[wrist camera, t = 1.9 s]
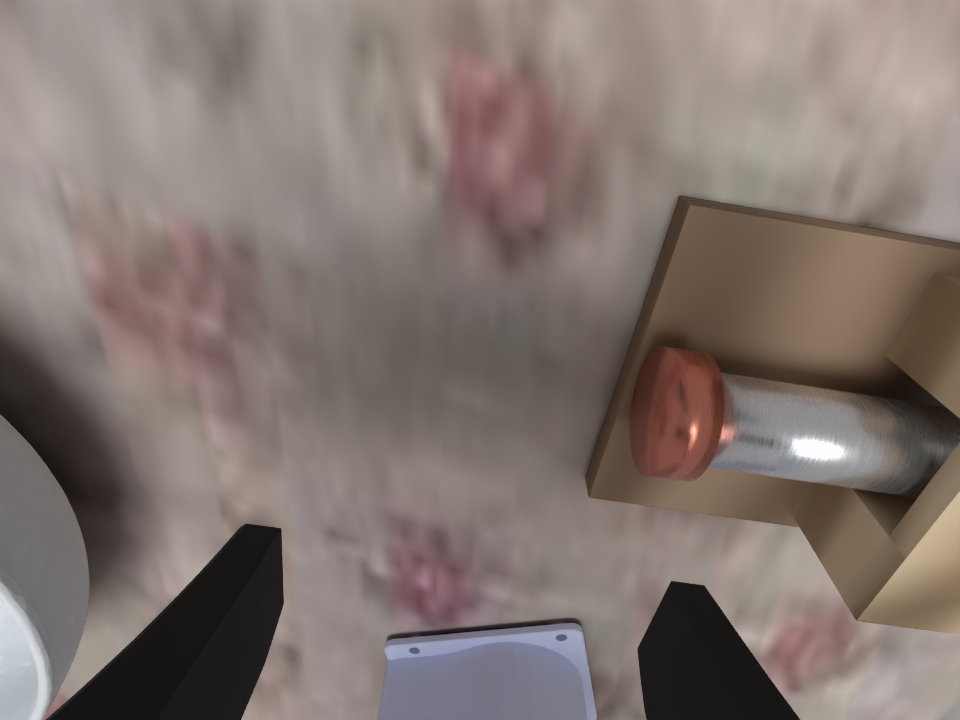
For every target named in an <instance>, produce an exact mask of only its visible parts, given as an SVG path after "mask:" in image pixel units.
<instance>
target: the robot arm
mask: <svg viewBox="0 0 960 720" xmlns="http://www.w3.org/2000/svg"><path fill="white" fill-rule="evenodd" d="M283 604H284V596H283V566H282V536H281V528H274V527H267V526H259V525H252V524H245V525H243V526H242V527H240V528H239V529H238V530H237V532H236V533H235V534H234V535H233V536H232V537H231V538H230V540H229V541H228V542H227V543H226V544H225V545H224V546H223V547H222V549H221V550H220V551H219V552H218V553H217V554H216V555H215V556H214V557H213V559H212V560H211V561H210V562H209V563H208V564H207V565H206V566H205V567H204V568H203V569H202V571H201V572H200V573H199V574H198V575H197V576H196V577H195V578H194V579H193V580H192V581H191V582H190V583H189V584H188V585H187V586H186V588H185V589H184V590H183V591H182V592H181V593H180V594H179V595H178V596H177V597H176V598H175V599H174V600H173V601H172V602H171V603H170V604H169V605H168V606H167V607H166V608H165V609H164V610H163V611H162V612H161V613H160V614H159V615H158V616H157V617H156V618H155V619H154V620H153V621H152V622H151V623H150V624H149V625H148V626H147V627H146V628H145V629H144V630H143V631H142V632H141V633H140V634H139V635H138V636H137V637H136V638H135V639H134V640H133V641H132V642H131V643H130V644H129V645H128V646H127V647H125V648H124V649H123V650H122V651H121V652H120V653H119V654H118V655H117V656H116V657H115V658H114V659H113V660H111V661H110V662H109V663H108V664H107V665H106V666H105V667H104V668H103V669H102V670H101V671H100V672H99V673H97V674H96V675H95V676H94V677H93V678H92V679H91V680H90V681H89V682H88V683H87V684H86V685H85V686H83V687H82V688H81V689H80V690H79V691H78V692H77V693H76V694H75V695H74V696H72V697H71V698H70V699H69V700H68V701H67V702H66V703H64V704H63V705H62V706H61V707H60V708H59V709H58V710H56V711H55V712H54V713H53V714H52V715H51V716H50V717H48V718H47V719H46V720H241V718H242V716H243V714H244V711H245V709H246V707H247V704H248V702H249V700H250V697H251V695H252V693H253V690H254V688H255V685H256V683H257V681H258V678H259V676H260V674H261V671H262V669H263V666H264V664H265V661H266V658H267V655H268V652H269V649H270V646H271V643H272V640H273V636H274V633H275V630H276V627H277V623H278V620H279V617H280V614H281V610H282V607H283ZM384 652H385V654H386V657H387V659H388V663H387V669H386V675H385V680H384V686H383V691H382V697H381V702H380V708H379V713H378V719H377V720H596V719H597V714H596V708H595V702H594V696H593V690H592V684H591V678H590V672H589V666H588V660H587V654H586V648H585V642H584V636H583V630H582V627H581V626H580V625H578V624H576V623H563V624H552V625H541V626H530V627H519V628H508V629H497V630H486V631H475V632H465V633H454V634H443V635H432V636H421V637H410V638H399V639H391V640H389V641H387V642H386V644H385V649H384ZM638 658H639V667H640V677H641V685H642V693H643V701H644V708H645V714H646V718H647V720H800V719H799V717H798V716H797V715H796V713H795V712H794V711H793V709H792V708H791V707H790V705H789V704H788V703H787V701H786V700H785V699H784V697H783V696H782V695H781V693H780V692H779V691H778V689H777V688H776V686H775V685H774V684H773V682H772V681H771V680H770V678H769V677H768V675H767V674H766V673H765V671H764V670H763V668H762V667H761V666H760V664H759V663H758V661H757V660H756V659H755V657H754V656H753V654H752V653H751V651H750V650H749V649H748V647H747V646H746V644H745V643H744V642H743V640H742V639H741V637H740V636H739V634H738V633H737V632H736V630H735V629H734V627H733V626H732V624H731V623H730V622H729V620H728V619H727V617H726V616H725V614H724V613H723V612H722V610H721V609H720V607H719V606H718V604H717V603H716V602H715V600H714V599H713V597H712V596H711V595H710V593H709V592H708V590H707V589H706V587H705V586H704V585H697V584H689V583H682V582H674V581H671V583H670V585H669V587H668V589H667V591H666V593H665V595H664V597H663V599H662V601H661V603H660V605H659V607H658V609H657V611H656V613H655V615H654V617H653V619H652V621H651V623H650V625H649V627H648V629H647V631H646V633H645V635H644V637H643V639H642V641H641V643H640V645H639V647H638Z"/></svg>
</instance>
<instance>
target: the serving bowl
mask: <svg viewBox="0 0 960 720" xmlns="http://www.w3.org/2000/svg"><path fill="white" fill-rule="evenodd" d="M88 603H89V569H88V559H87V554H86V549H85V544H84V540H83V536H82V533H81V530H80V527H79V524H78V521H77V519H76V516H75V514H74V511H73V509H72V507H71V505H70V503H69V501H68V499H67V497H66V495H65V493H64V491H63V490H62V488H61V486H60V485H59V483H58V481H57V480H56V478H55V477H54V476H53V474H52V473H51V471H50V470H49V468H48V467H47V465H46V464H45V463H44V461H43V460H42V459H41V457H40V456H39V455H38V454H37V452H36V451H35V450H34V449H33V447H32V446H31V445H30V444H29V443H28V442H27V441H26V440H25V438H24V437H23V436H22V435H21V434H20V433H19V432H18V431H17V430H16V429H15V428H14V427H13V426H12V425H11V424H10V423H9V422H8V421H7V420H6V419H5V418H4V417H2V416H1V415H0V720H43V719H44V717H45V716H46V714H47V712H48V710H49V708H50V706H51V705H52V703H53V701H54V699H55V697H56V695H57V693H58V691H59V689H60V687H61V685H62V683H63V681H64V679H65V677H66V675H67V673H68V671H69V669H70V667H71V664H72V662H73V660H74V657H75V654H76V651H77V649H78V646H79V643H80V640H81V637H82V634H83V629H84V625H85V621H86V617H87V610H88Z"/></svg>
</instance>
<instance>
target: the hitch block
mask: <svg viewBox="0 0 960 720" xmlns="http://www.w3.org/2000/svg"><path fill="white" fill-rule="evenodd" d="M660 346H665V347H671V348H678V349H684V350H690V351H697V352H703V353H707V354H709V355H710V356H711V357H713V359H714V360H715V361H716V363H717V365H718V367H719V370H720V372H721V373H727V374H734V375H740V376H747V377H753V378H760V379H766V380H773V381H779V382H786V383H792V384H799V385H805V386H812V387H818V388H825V389H831V390H838V391H844V392H851V393H857V394H864V395H870V396H877V397H883V398H890V399H896V400H903V401H909V402H916V403H922V404H928V405H935V406H941V407H947V408H948V409H949V410H950V411H951V412H953V413H954V414H955V415H956V416H957V417H959V418H960V243H956V242H950V241H944V240H938V239H932V238H926V237H920V236H914V235H908V234H903V233H897V232H891V231H885V230H879V229H873V228H867V227H861V226H855V225H849V224H844V223H838V222H832V221H826V220H820V219H814V218H808V217H802V216H796V215H790V214H785V213H779V212H773V211H767V210H761V209H755V208H749V207H743V206H737V205H731V204H726V203H720V202H714V201H708V200H702V199H696V198H690V197H684V196H680V197H679V200H678V203H677V206H676V209H675V212H674V215H673V218H672V221H671V224H670V227H669V230H668V233H667V236H666V239H665V242H664V245H663V248H662V251H661V254H660V257H659V260H658V263H657V266H656V269H655V272H654V275H653V278H652V281H651V284H650V287H649V290H648V293H647V296H646V299H645V302H644V305H643V308H642V311H641V314H640V317H639V320H638V323H637V326H636V329H635V332H634V335H633V338H632V341H631V344H630V347H629V350H628V353H627V356H626V359H625V362H624V365H623V368H622V371H621V374H620V377H619V380H618V383H617V386H616V389H615V392H614V395H613V398H612V401H611V404H610V407H609V410H608V413H607V416H606V419H605V422H604V425H603V428H602V431H601V434H600V437H599V440H598V443H597V446H596V449H595V452H594V455H593V458H592V461H591V464H590V467H589V470H588V473H587V476H586V479H585V480H586V485H587V490H588V496H589V498H596V499H603V500H611V501H618V502H625V503H632V504H639V505H646V506H653V507H660V508H667V509H674V510H681V511H689V512H696V513H703V514H710V515H717V516H724V517H731V518H738V519H745V520H752V521H759V522H766V523H774V524H781V525H788V526H795V527H800V528H801V530H802V531H803V533H804V535H805V536H806V538H807V540H808V541H809V543H810V545H811V546H812V548H813V550H814V551H815V553H816V555H817V556H818V558H819V560H820V561H821V563H822V565H823V566H824V568H825V570H826V571H827V573H828V575H829V576H830V578H831V580H832V581H833V583H834V585H835V586H836V588H837V589H838V591H839V593H840V594H841V596H842V598H843V599H844V601H845V603H846V604H847V606H848V608H849V609H850V611H851V613H852V614H853V616H854V618H855V619H856V621H861V622H869V623H876V624H884V625H891V626H899V627H906V628H914V629H921V630H929V631H936V632H944V633H951V634H959V635H960V442H959V444H958V445H957V446H956V448H955V449H954V450H953V452H952V453H951V454H950V456H949V457H948V458H947V460H946V461H945V462H944V464H943V465H942V466H941V468H940V469H939V470H938V472H937V473H936V474H935V476H934V477H933V478H932V480H931V481H930V482H929V484H928V485H927V486H926V488H925V489H924V490H923V492H922V493H921V494H920V496H919V497H918V498H916V497H909V496H902V495H895V494H888V493H881V492H875V491H868V490H861V489H854V488H847V487H840V486H833V485H826V484H819V483H813V482H806V481H799V480H792V479H785V478H778V477H771V476H764V475H758V474H751V473H744V472H737V471H730V470H723V469H716V468H709V467H708V468H707V470H706V471H705V472H704V473H703V475H702V476H700V477H699V478H698V479H696V480H694V481H691V482H684V481H677V480H670V479H664V478H657V477H650V476H644V475H642V474H641V473H640V472H639V471H638V470H637V468H636V466H635V464H634V461H633V457H632V453H631V447H630V435H629V426H630V412H631V404H632V398H633V394H634V389H635V385H636V382H637V379H638V376H639V373H640V371H641V368H642V366H643V364H644V362H645V360H646V359H647V357H648V356H649V354H650V353H651V352H652V351H653V350H654V349H655V348H657V347H660Z"/></svg>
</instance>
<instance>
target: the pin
mask: <svg viewBox="0 0 960 720" xmlns="http://www.w3.org/2000/svg"><path fill="white" fill-rule="evenodd" d="M629 435H630V447H631V453H632V457H633V461H634V464H635V466H636V468H637V470H638V471H639V472H640V473H641V474H642V475H644V476H650V477H657V478H664V479H670V480H677V481H684V482H691V481H694V480H696V479H698V478H699V477H700V476H702V475H703V473H704V472H705V471H706V470H707V468H708V467H709V468H716V469H723V470H730V471H737V472H744V473H751V474H758V475H764V476H771V477H778V478H785V479H792V480H799V481H806V482H813V483H819V484H826V485H833V486H840V487H847V488H854V489H861V490H868V491H875V492H881V493H888V494H895V495H902V496H909V497H916V498H918V497H919V496H920V494H921V493H922V492H923V490H924V489H925V488H926V486H927V485H928V484H929V482H930V481H931V480H932V478H933V477H934V476H935V474H936V473H937V472H938V470H939V469H940V468H941V466H942V465H943V464H944V462H945V461H946V460H947V458H948V457H949V456H950V454H951V453H952V452H953V450H954V449H955V448H956V446H957V445H958V444H959V442H960V418H959V417H957V416H956V415H955V414H954V413H953V412H951V411H950V410H949V409H948V408H947V407H941V406H935V405H928V404H922V403H916V402H909V401H903V400H896V399H890V398H883V397H877V396H870V395H864V394H857V393H851V392H844V391H838V390H831V389H825V388H818V387H812V386H805V385H799V384H792V383H786V382H779V381H773V380H766V379H760V378H753V377H747V376H740V375H734V374H727V373H721V372H720V370H719V367H718V365H717V363H716V361H715V360H714V359H713V357H711V356H710V355H709V354H707V353H703V352H697V351H690V350H684V349H678V348H671V347H665V346H660V347H657V348H655V349H654V350H653V351H652V352H651V353H650V354H649V356H648V357H647V359H646V360H645V362H644V364H643V366H642V368H641V371H640V373H639V376H638V379H637V382H636V385H635V389H634V394H633V398H632V404H631V412H630V426H629Z"/></svg>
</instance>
